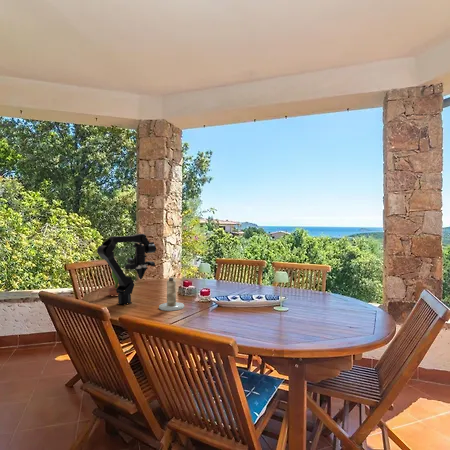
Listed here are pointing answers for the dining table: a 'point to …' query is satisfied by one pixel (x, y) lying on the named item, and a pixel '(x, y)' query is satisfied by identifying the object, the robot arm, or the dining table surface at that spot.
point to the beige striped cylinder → (171, 292)
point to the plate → (171, 307)
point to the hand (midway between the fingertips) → (140, 279)
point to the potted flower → (113, 288)
